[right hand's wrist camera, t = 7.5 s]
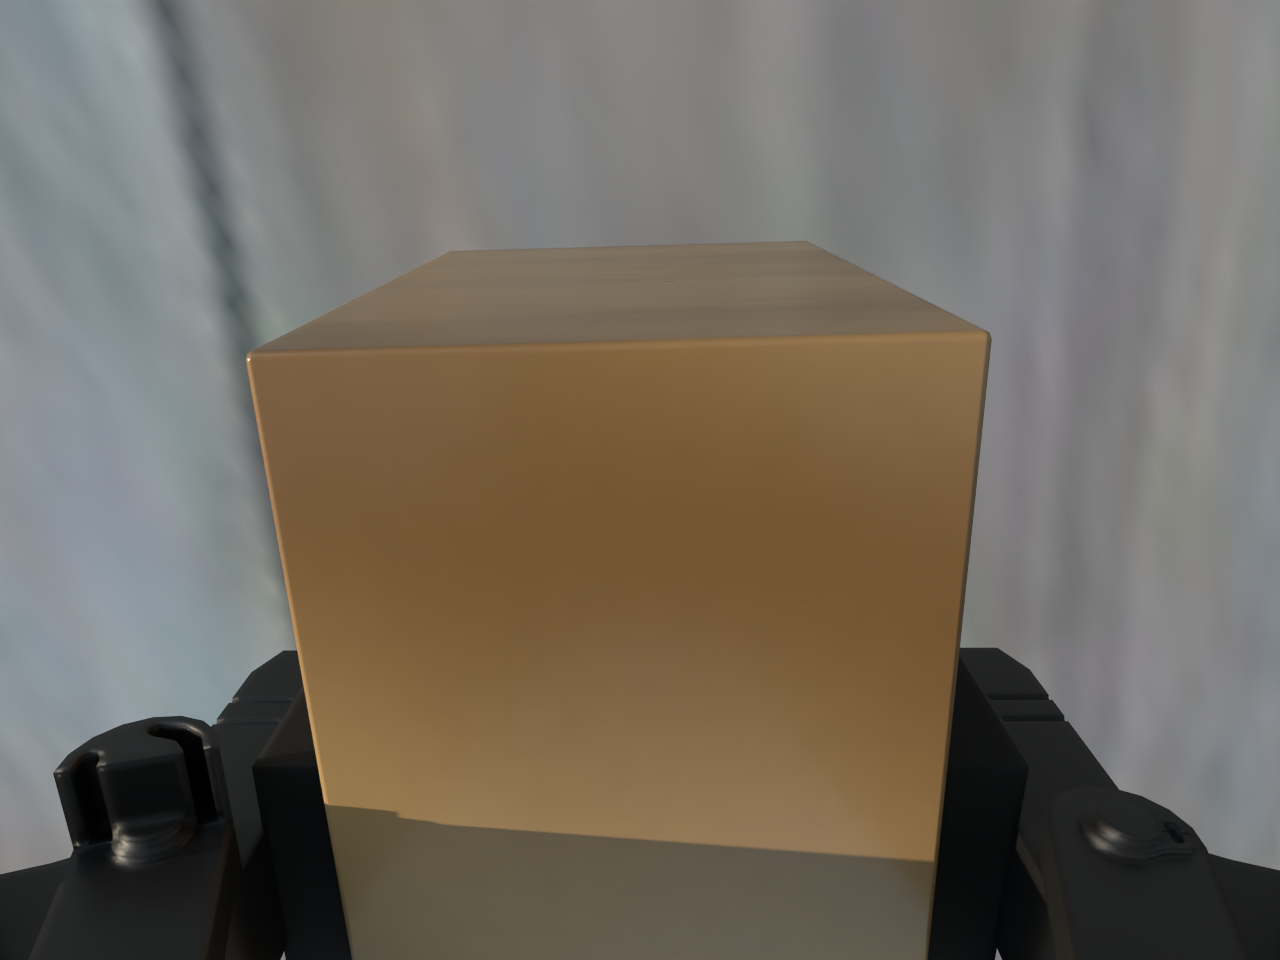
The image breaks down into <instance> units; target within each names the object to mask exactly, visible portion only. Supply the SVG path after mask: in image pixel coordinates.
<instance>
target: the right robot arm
mask: <svg viewBox="0 0 1280 960" xmlns="http://www.w3.org/2000/svg"><path fill="white" fill-rule="evenodd" d="M1048 696H1049V695H1048V694H1047V692H1046V691H1045V690H1044V688H1043V687H1042V686H1041V684H1040V683H1039V681H1038V680H1037V679H1036V677H1035V676H1034V675H1033V673H1032V672H1031V671H1030V670H1029V669H1028V668H1027V667H1025V666H1024V665H1022V664H1021V663H1019V662H1018V661H1016V660H1015V659H1013V658H1012V657H1010V656H1009V655H1007V654H1006V653H1004V652H1003V651H1001V650H1000V649H998V648H960V650H959V660H958V670H957V679H956V689H955V699H954V708H953V718H952V728H951V738H950V747H949V757H948V767H947V776H946V786H945V796H944V806H943V815H942V825H941V835H940V845H939V854H938V864H937V874H936V883H935V893H934V903H933V913H932V922H931V932H930V942H929V951H928V960H995V955H996V950H997V949H998V951H999V953H1000V956H1001V958H1002V960H1280V871H1279V870H1275V869H1270V868H1266V867H1261V866H1257V865H1252V864H1248V863H1243V862H1239V861H1234V860H1230V859H1227V858H1223V857H1220V856H1216V855H1213V854H1209V853H1208V851H1207V848H1206V847H1205V846H1204V844H1203V843H1202V841H1201V840H1200V838H1199V837H1198V835H1197V834H1196V833H1195V831H1194V830H1193V828H1192V827H1190V826H1189V825H1188V824H1187V823H1185V822H1184V821H1183V820H1182V819H1180V818H1179V817H1178V816H1176V815H1175V814H1174V813H1173V812H1171V811H1170V810H1169V809H1167V808H1165V807H1163V806H1160V805H1158V804H1156V803H1154V802H1152V801H1150V800H1148V799H1146V798H1144V797H1142V796H1139V795H1136V794H1132V793H1129V792H1125V791H1121V790H1119V789H1118V788H1117V786H1116V785H1115V784H1114V782H1113V781H1112V779H1111V778H1110V777H1109V775H1108V774H1107V773H1106V771H1105V770H1104V769H1103V767H1102V766H1101V765H1100V763H1099V762H1098V761H1097V759H1096V758H1095V757H1094V755H1093V754H1092V753H1091V751H1090V750H1089V749H1088V747H1087V746H1086V745H1085V743H1084V742H1083V741H1082V739H1081V738H1080V737H1079V735H1078V734H1077V733H1076V731H1075V730H1074V728H1073V727H1072V726H1071V724H1070V723H1069V722H1068V721H1065V720H1064V715H1063V714H1062V712H1061V711H1060V710H1059V708H1058V707H1057V706H1056V704H1055V703H1054V702H1053V700H1049V698H1048ZM53 774H54V778H55V782H56V785H57V789H58V793H59V796H60V800H61V804H62V808H63V811H64V815H65V819H66V822H67V826H68V830H69V833H70V837H71V841H72V845H73V848H74V850H73V852H72V855H71V857H70V858H67V859H64V860H60V861H57V862H54V863H50V864H46V865H41V866H37V867H32V868H27V869H23V870H18V871H14V872H9V873H5V874H0V960H280V959H281V957H282V955H283V952H285V957H286V960H352V957H351V951H350V945H349V940H348V934H347V928H346V923H345V917H344V911H343V906H342V900H341V895H340V889H339V883H338V878H337V872H336V866H335V861H334V855H333V849H332V844H331V838H330V832H329V827H328V821H327V815H326V810H325V804H324V798H323V793H322V787H321V781H320V776H319V770H318V765H317V759H316V753H315V748H314V742H313V736H312V731H311V725H310V719H309V714H308V708H307V702H306V697H305V691H304V685H303V680H302V674H301V668H300V663H299V657H298V651H282V652H281V653H279V654H278V655H276V656H275V657H274V658H272V659H271V660H269V661H268V662H266V663H265V664H263V665H262V666H260V667H259V668H257V669H256V670H254V671H253V672H251V674H250V675H249V676H248V678H247V679H246V681H245V682H244V683H243V685H242V686H241V687H240V689H239V690H238V691H237V693H236V694H235V695H234V697H233V701H232V703H229V704H228V705H227V706H226V708H225V709H224V710H223V712H222V713H221V714H220V716H219V717H218V718H217V724H216V725H212V727H210V726H209V725H208V724H207V723H205V722H204V721H201V720H197V719H192V718H188V717H183V716H171V717H153V718H148V719H144V720H140V721H136V722H132V723H128V724H124V725H121V726H118V727H116V728H114V729H112V730H109V731H107V732H105V733H102V734H100V735H98V736H95V737H93V738H91V739H90V740H89V741H87V742H86V743H84V744H83V745H81V746H80V747H78V748H77V749H76V750H74V751H73V752H71V753H70V754H68V756H67V757H66V758H65V759H64V760H63V762H62V763H61V764H60V765H59V767H58V768H57V769H56V770H55V772H54V773H53Z"/></svg>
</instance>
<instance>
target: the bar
mask: <svg viewBox="0 0 1280 960" xmlns="http://www.w3.org/2000/svg"><path fill="white" fill-rule="evenodd" d="M990 349H991V336H990V333H989V332H988V331H986V330H984V329H982V328H980V327H978V326H976V325H974V324H972V323H970V322H968V321H966V320H964V319H962V318H960V317H958V316H956V315H954V314H952V313H950V312H948V311H946V310H944V309H942V308H940V307H938V306H936V305H934V304H932V303H930V302H928V301H926V300H924V299H922V298H920V297H918V296H916V295H914V294H912V293H910V292H908V291H906V290H904V289H902V288H900V287H898V286H896V285H894V284H892V283H890V282H888V281H886V280H884V279H882V278H880V277H878V276H876V275H874V274H872V273H870V272H868V271H866V270H864V269H862V268H860V267H858V266H856V265H854V264H852V263H850V262H848V261H846V260H844V259H842V258H840V257H838V256H836V255H834V254H832V253H830V252H828V251H826V250H824V249H822V248H820V247H818V246H816V245H814V244H812V243H810V242H807V241H789V242H755V243H721V244H686V245H652V246H618V247H584V248H549V249H515V250H481V251H450V252H448V253H446V254H444V255H442V256H440V257H438V258H436V259H434V260H432V261H430V262H428V263H426V264H424V265H422V266H420V267H418V268H416V269H414V270H412V271H410V272H408V273H406V274H404V275H402V276H401V277H399V278H397V279H395V280H393V281H391V282H389V283H387V284H385V285H383V286H381V287H379V288H377V289H375V290H373V291H371V292H369V293H367V294H365V295H363V296H361V297H359V298H357V299H355V300H353V301H351V302H349V303H347V304H345V305H343V306H341V307H339V308H337V309H335V310H333V311H331V312H329V313H327V314H325V315H323V316H321V317H319V318H317V319H315V320H313V321H311V322H309V323H307V324H305V325H303V326H301V327H299V328H297V329H295V330H293V331H291V332H289V333H287V334H285V335H283V336H281V337H279V338H277V339H275V340H273V341H271V342H269V343H267V344H265V345H263V346H261V347H259V348H257V349H255V350H253V351H251V352H249V353H248V354H247V358H246V363H247V369H248V374H249V380H250V386H251V391H252V397H253V403H254V408H255V414H256V420H257V425H258V431H259V437H260V442H261V448H262V454H263V459H264V465H265V471H266V476H267V482H268V488H269V493H270V499H271V504H272V510H273V516H274V521H275V527H276V533H277V538H278V544H279V550H280V555H281V561H282V567H283V572H284V578H285V584H286V589H287V595H288V601H289V606H290V612H291V618H292V623H293V629H294V634H295V640H296V646H297V651H298V657H299V663H300V668H301V674H302V680H303V685H304V691H305V697H306V702H307V708H308V714H309V719H310V725H311V731H312V736H313V742H314V748H315V753H316V759H317V765H318V770H319V776H320V781H321V787H322V793H323V798H324V804H325V810H326V815H327V821H328V827H329V832H330V838H331V844H332V849H333V855H334V861H335V866H336V872H337V878H338V883H339V889H340V895H341V900H342V906H343V911H344V917H345V923H346V928H347V934H348V940H349V945H350V951H351V957H352V960H928V951H929V942H930V932H931V922H932V913H933V903H934V893H935V883H936V874H937V864H938V854H939V845H940V835H941V825H942V815H943V806H944V796H945V786H946V776H947V767H948V757H949V747H950V738H951V728H952V718H953V708H954V699H955V689H956V679H957V670H958V660H959V650H960V640H961V631H962V621H963V611H964V602H965V592H966V582H967V572H968V563H969V553H970V543H971V534H972V524H973V514H974V504H975V495H976V485H977V475H978V466H979V456H980V446H981V436H982V427H983V417H984V407H985V398H986V388H987V378H988V368H989V359H990Z"/></svg>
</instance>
